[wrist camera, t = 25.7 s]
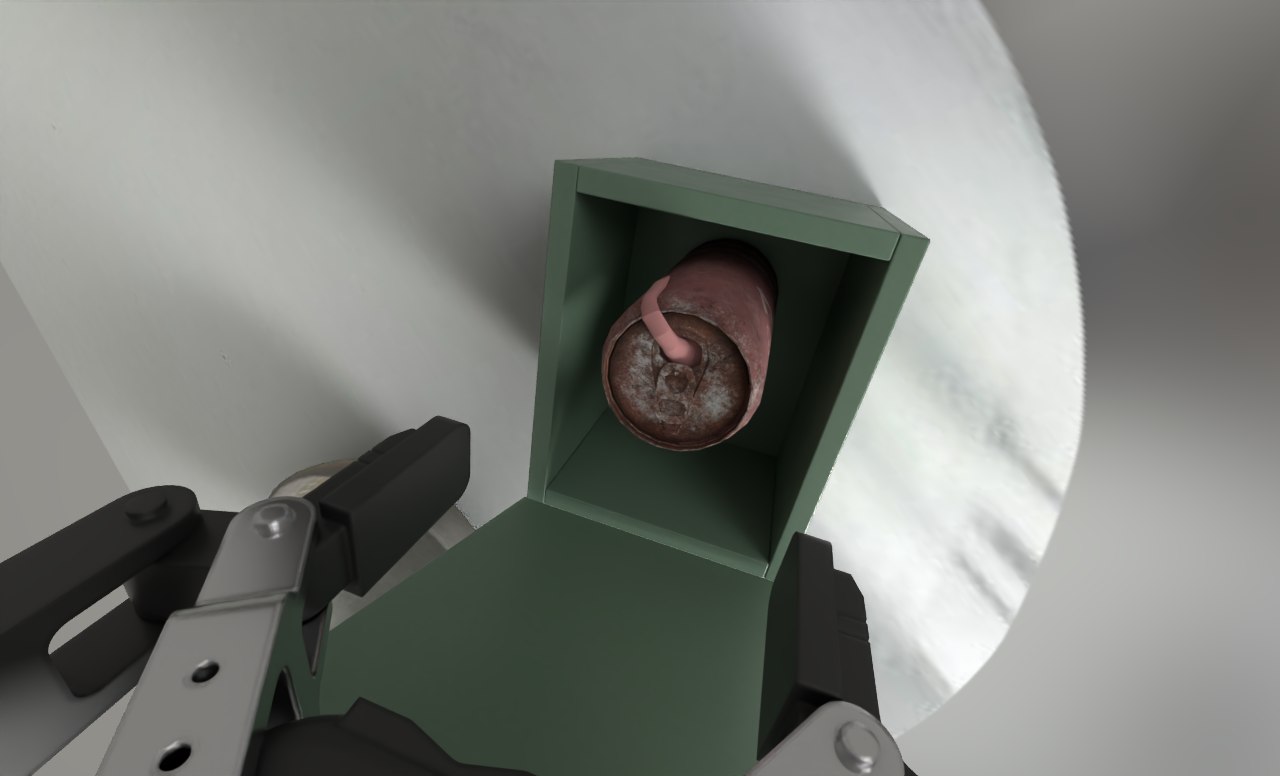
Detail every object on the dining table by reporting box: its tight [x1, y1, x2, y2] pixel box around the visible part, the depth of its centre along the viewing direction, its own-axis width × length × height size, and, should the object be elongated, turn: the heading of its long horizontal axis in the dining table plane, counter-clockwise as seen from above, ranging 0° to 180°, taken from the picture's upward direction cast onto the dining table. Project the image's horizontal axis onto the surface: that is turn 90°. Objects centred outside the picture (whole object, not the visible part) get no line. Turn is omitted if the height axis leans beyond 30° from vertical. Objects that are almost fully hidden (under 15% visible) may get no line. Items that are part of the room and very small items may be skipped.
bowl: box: [268, 459, 475, 631], centre depth 44 cm, size 21×21×8 cm
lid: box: [319, 497, 774, 776], centre depth 17 cm, size 18×14×5 cm
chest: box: [527, 157, 930, 581], centre depth 27 cm, size 17×14×11 cm
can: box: [601, 238, 779, 451], centre depth 24 cm, size 6×6×14 cm
